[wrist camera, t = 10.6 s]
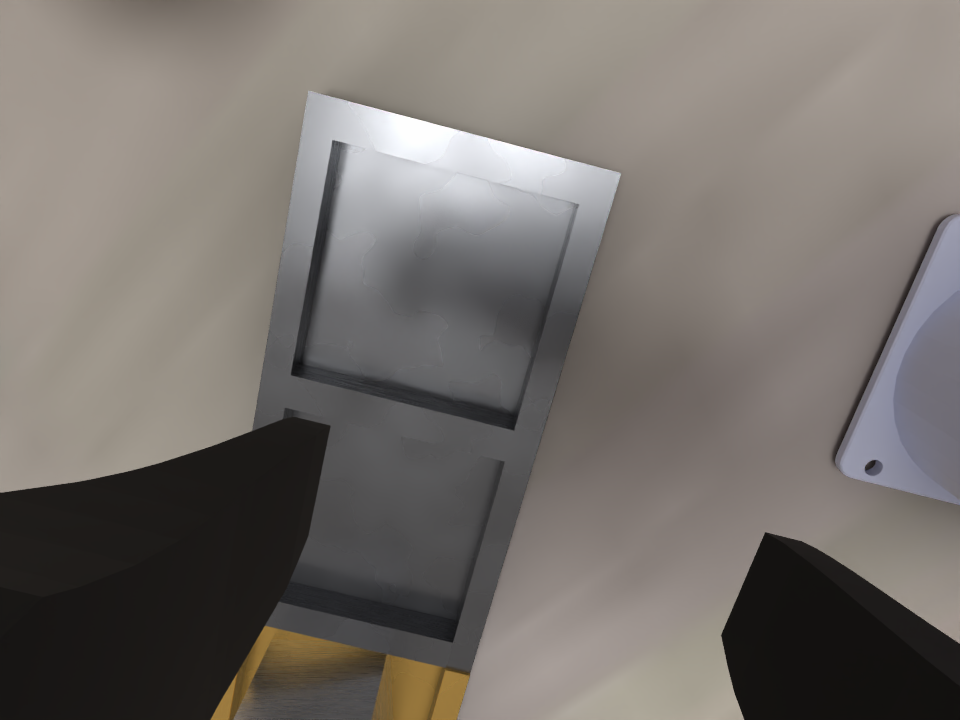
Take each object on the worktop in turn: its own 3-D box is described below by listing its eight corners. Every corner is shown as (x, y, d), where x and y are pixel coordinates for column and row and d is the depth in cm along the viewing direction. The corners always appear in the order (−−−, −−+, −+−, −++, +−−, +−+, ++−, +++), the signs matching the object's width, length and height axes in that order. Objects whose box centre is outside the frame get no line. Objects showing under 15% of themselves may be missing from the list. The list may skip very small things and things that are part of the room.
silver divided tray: (612, 171, 19) (621, 173, 17) (423, 803, 26) (418, 844, 24) (323, 95, 18) (307, 90, 17) (210, 755, 25) (191, 794, 24)
